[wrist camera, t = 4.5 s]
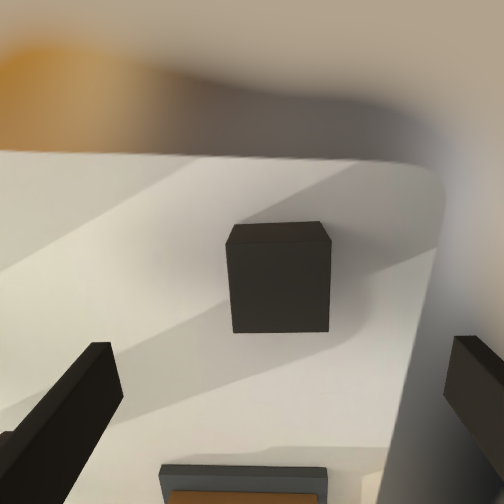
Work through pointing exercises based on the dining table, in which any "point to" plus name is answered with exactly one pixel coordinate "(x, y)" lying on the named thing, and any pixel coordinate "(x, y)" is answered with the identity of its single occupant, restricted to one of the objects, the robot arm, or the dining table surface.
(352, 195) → the dining table surface
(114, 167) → the dining table surface
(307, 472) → the base pad
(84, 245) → the dining table surface
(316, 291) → the black pad
